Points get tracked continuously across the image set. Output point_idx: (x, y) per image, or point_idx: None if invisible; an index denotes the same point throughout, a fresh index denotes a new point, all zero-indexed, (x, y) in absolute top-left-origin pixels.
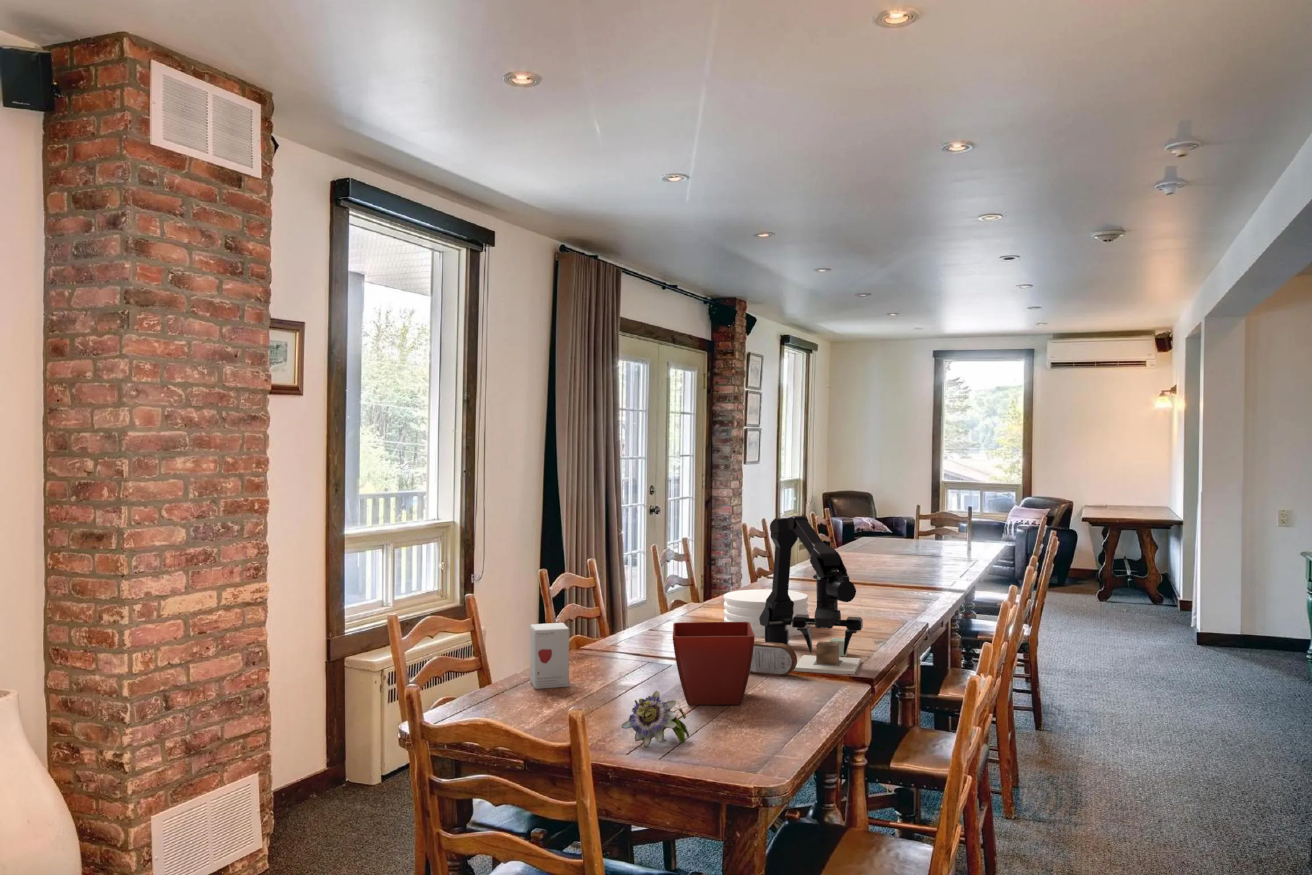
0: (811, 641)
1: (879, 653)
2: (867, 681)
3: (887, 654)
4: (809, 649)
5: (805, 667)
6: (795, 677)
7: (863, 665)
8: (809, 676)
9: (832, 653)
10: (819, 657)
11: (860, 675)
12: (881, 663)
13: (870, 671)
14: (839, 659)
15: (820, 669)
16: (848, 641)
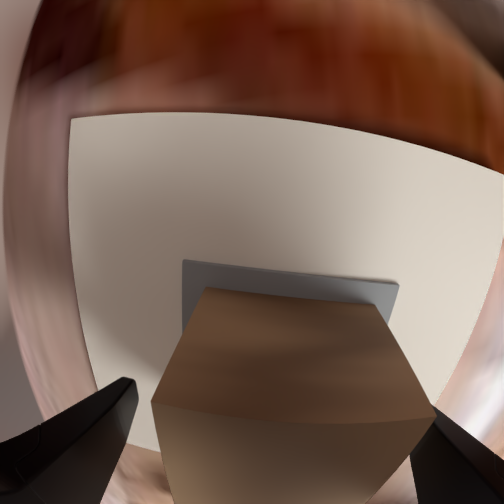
0: (423, 492)
1: (109, 488)
2: (46, 8)
3: None
4: (442, 414)
5: (457, 180)
6: (470, 15)
7: (87, 371)
8: (404, 24)
9: (226, 346)
10: (364, 330)
11: (58, 121)
12: (45, 394)
13: (27, 243)
14: None
15: (345, 129)
16: (24, 436)
